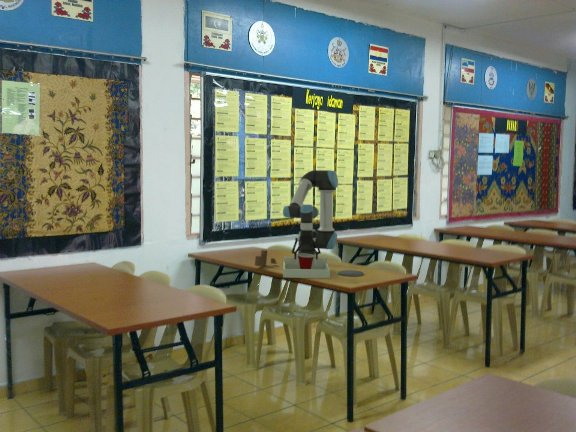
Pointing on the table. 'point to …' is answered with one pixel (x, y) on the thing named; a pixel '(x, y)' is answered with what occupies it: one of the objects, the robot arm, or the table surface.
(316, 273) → the light grey tray
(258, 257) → the wooden block set
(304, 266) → the plastic cup
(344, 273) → the saucer
